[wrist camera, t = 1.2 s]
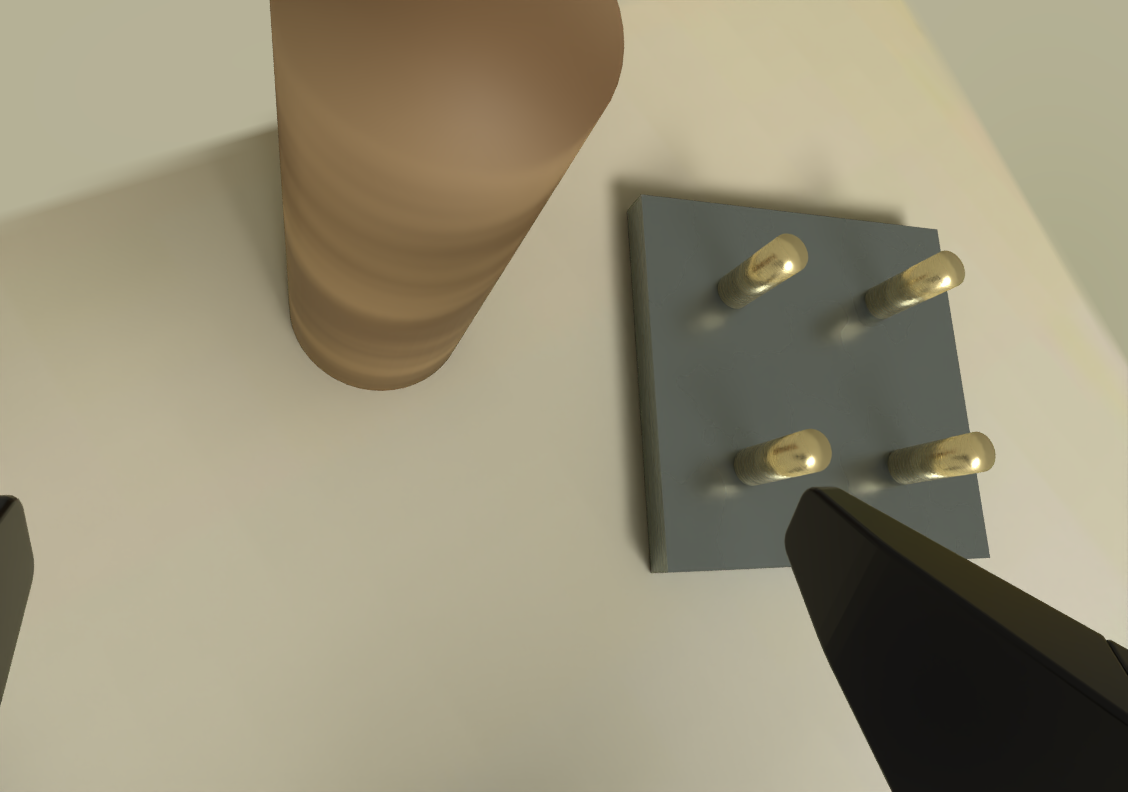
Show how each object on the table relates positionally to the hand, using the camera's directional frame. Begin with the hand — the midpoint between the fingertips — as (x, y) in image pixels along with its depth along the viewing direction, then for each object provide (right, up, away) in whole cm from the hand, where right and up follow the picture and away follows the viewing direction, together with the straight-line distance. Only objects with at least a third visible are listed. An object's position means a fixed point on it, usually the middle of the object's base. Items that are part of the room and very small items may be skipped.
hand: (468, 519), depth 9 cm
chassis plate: (+9, +2, +18) cm, 20 cm away
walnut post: (-4, +4, +14) cm, 15 cm away
